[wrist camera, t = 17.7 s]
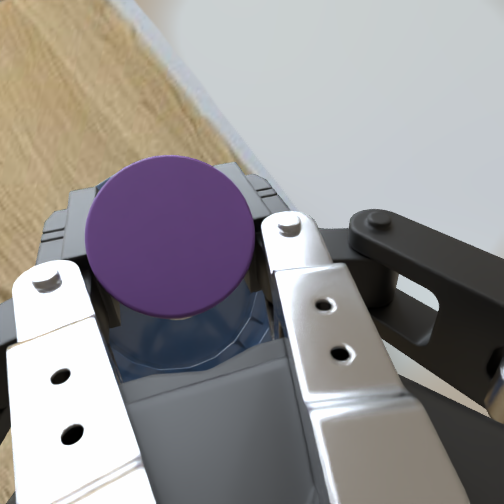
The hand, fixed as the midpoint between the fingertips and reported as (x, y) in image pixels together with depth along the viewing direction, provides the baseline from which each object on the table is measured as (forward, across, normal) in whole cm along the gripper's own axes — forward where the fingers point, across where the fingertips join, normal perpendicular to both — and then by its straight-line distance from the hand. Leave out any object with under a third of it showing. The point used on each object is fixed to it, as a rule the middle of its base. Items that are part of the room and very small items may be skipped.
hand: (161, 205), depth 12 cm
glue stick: (+3, 0, +6) cm, 6 cm away
